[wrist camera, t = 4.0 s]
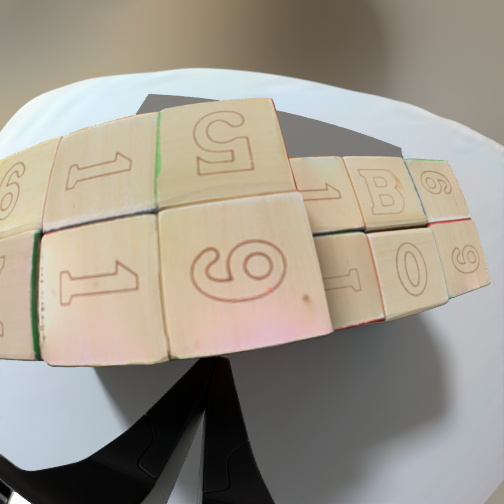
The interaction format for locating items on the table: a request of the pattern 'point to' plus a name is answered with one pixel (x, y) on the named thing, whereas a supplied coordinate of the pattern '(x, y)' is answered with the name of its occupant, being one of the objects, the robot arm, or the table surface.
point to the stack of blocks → (216, 240)
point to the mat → (298, 132)
